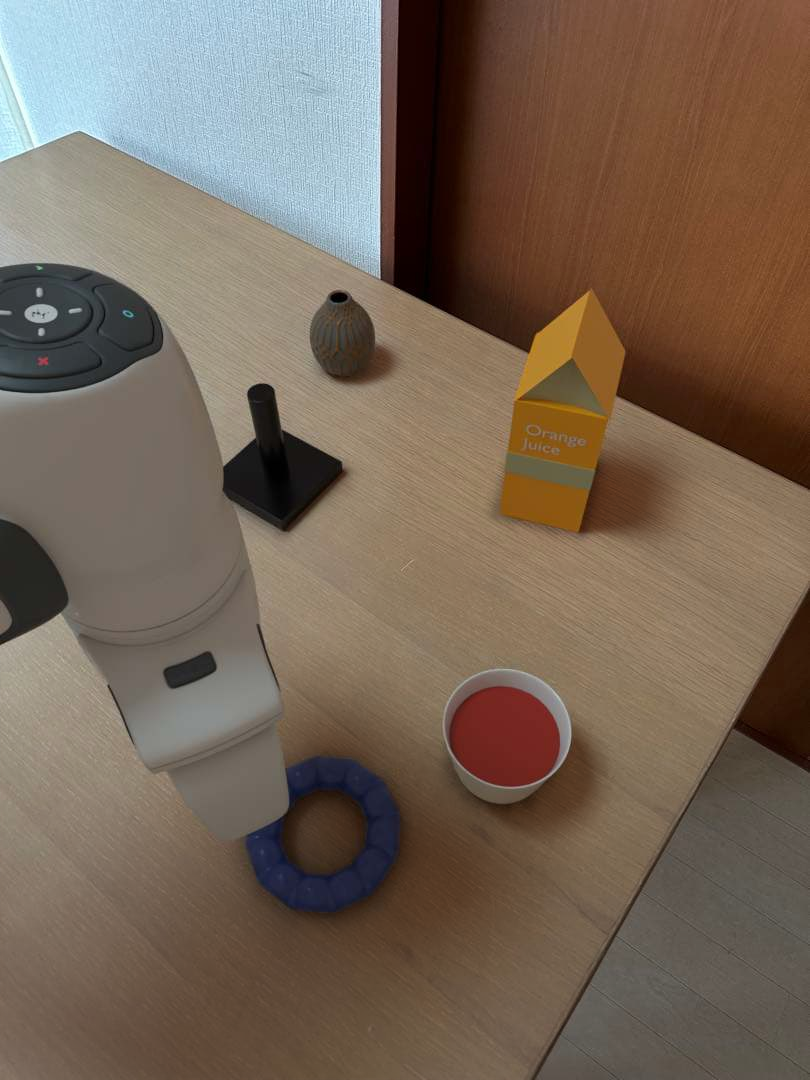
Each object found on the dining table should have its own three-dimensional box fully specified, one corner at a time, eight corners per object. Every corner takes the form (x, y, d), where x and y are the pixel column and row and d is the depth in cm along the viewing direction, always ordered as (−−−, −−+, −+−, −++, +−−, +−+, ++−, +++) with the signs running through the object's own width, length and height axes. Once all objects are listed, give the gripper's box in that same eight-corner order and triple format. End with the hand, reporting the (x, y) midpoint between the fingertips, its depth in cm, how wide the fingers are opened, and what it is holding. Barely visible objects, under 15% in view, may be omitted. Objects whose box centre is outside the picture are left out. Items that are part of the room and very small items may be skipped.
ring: (338, 949, 56) (335, 942, 54) (219, 854, 59) (212, 844, 57) (429, 817, 61) (429, 806, 59) (314, 737, 65) (311, 724, 63)
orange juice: (497, 514, 78) (519, 346, 62) (518, 448, 83) (543, 277, 67) (580, 533, 76) (625, 367, 60) (596, 465, 81) (641, 294, 65)
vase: (353, 393, 88) (348, 327, 81) (300, 371, 90) (290, 304, 83) (388, 356, 91) (386, 289, 84) (336, 335, 93) (330, 268, 86)
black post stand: (283, 531, 77) (265, 445, 68) (212, 489, 80) (185, 401, 71) (343, 471, 81) (334, 383, 72) (273, 433, 84) (256, 344, 75)
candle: (462, 691, 67) (466, 652, 62) (571, 729, 65) (585, 692, 60) (423, 793, 62) (424, 760, 57) (540, 838, 60) (552, 808, 55)
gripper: (47, 461, 45) (120, 600, 56) (152, 798, 33) (217, 889, 44) (162, 423, 46) (210, 566, 57) (298, 733, 35) (325, 836, 46)
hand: (214, 709), depth 51 cm, fingers open, 8 cm apart
